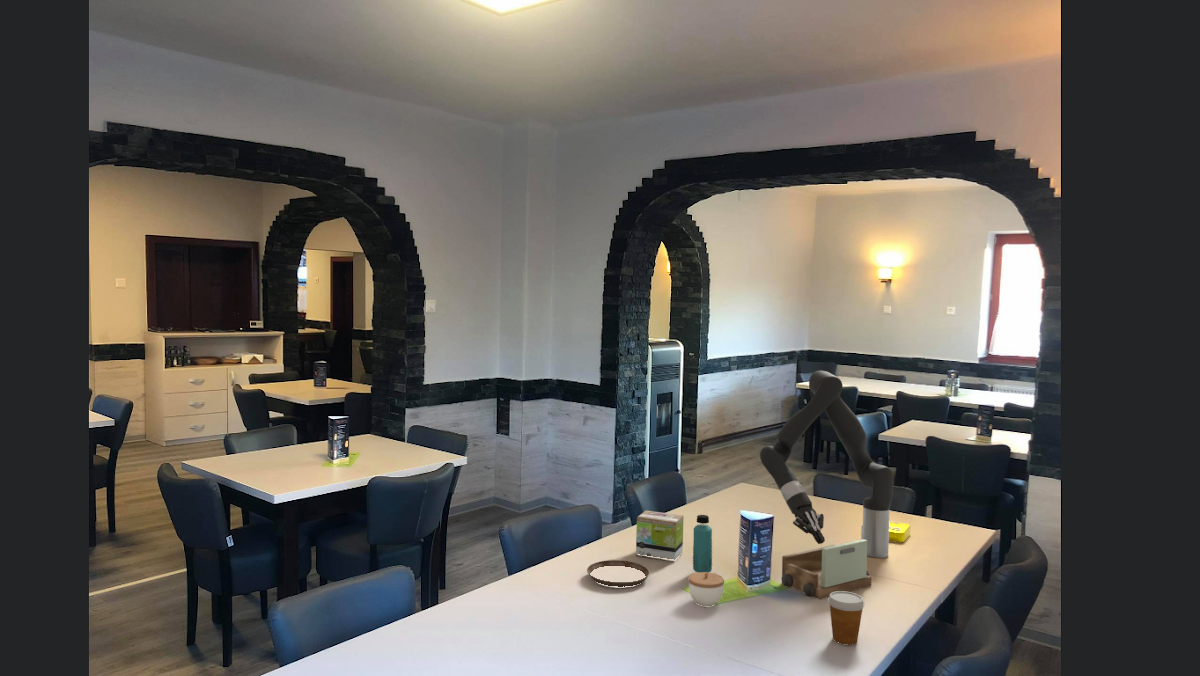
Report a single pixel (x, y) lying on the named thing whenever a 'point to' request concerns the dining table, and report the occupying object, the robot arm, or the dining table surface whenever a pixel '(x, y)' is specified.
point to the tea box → (659, 534)
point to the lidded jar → (706, 588)
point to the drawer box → (813, 575)
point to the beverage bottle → (702, 545)
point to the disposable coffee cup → (845, 616)
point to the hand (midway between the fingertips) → (821, 542)
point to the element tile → (898, 531)
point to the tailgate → (844, 563)
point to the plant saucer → (618, 563)
